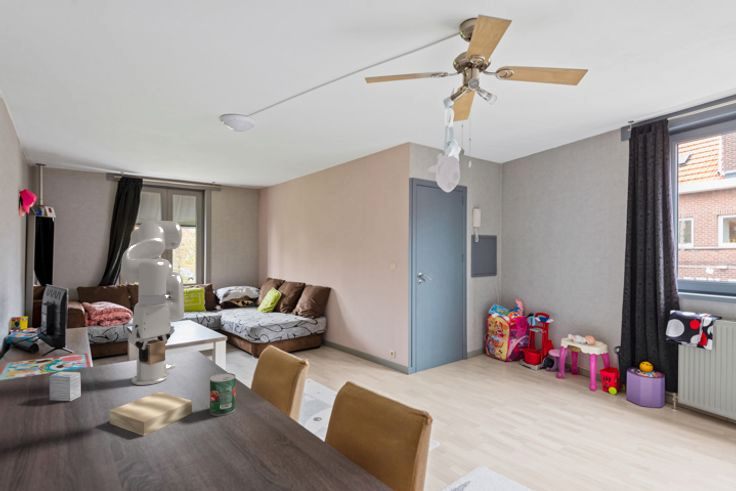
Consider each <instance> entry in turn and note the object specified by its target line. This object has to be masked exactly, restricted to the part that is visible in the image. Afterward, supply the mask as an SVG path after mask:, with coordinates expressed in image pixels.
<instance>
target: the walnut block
mask: <svg viewBox="0 0 736 491" xmlns="http://www.w3.org/2000/svg"><path fill="white" fill-rule="evenodd" d="M146 349H148V362H142V361H139V363H143V364H148V365H152V364H155V363H159V362H162V361H164V362H165V361H166V344H165V341H161V340H155V339H154V340H150V341H148V343H147V347H146Z"/></svg>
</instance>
